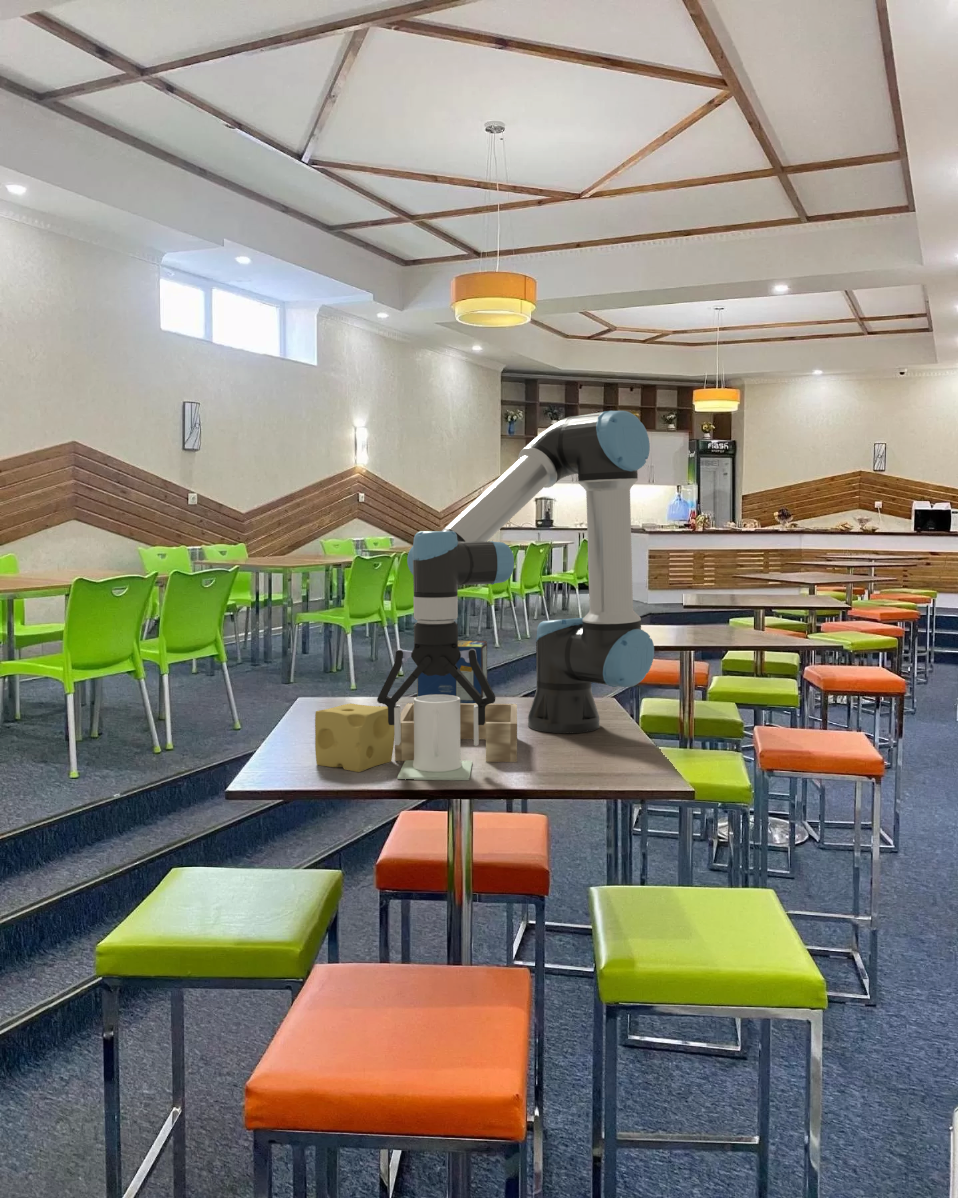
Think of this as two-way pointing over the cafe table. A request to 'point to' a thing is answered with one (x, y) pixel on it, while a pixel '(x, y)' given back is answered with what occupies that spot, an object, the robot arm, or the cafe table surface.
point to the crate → (471, 731)
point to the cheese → (353, 737)
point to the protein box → (450, 684)
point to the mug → (437, 733)
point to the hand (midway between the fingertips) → (437, 743)
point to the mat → (415, 774)
